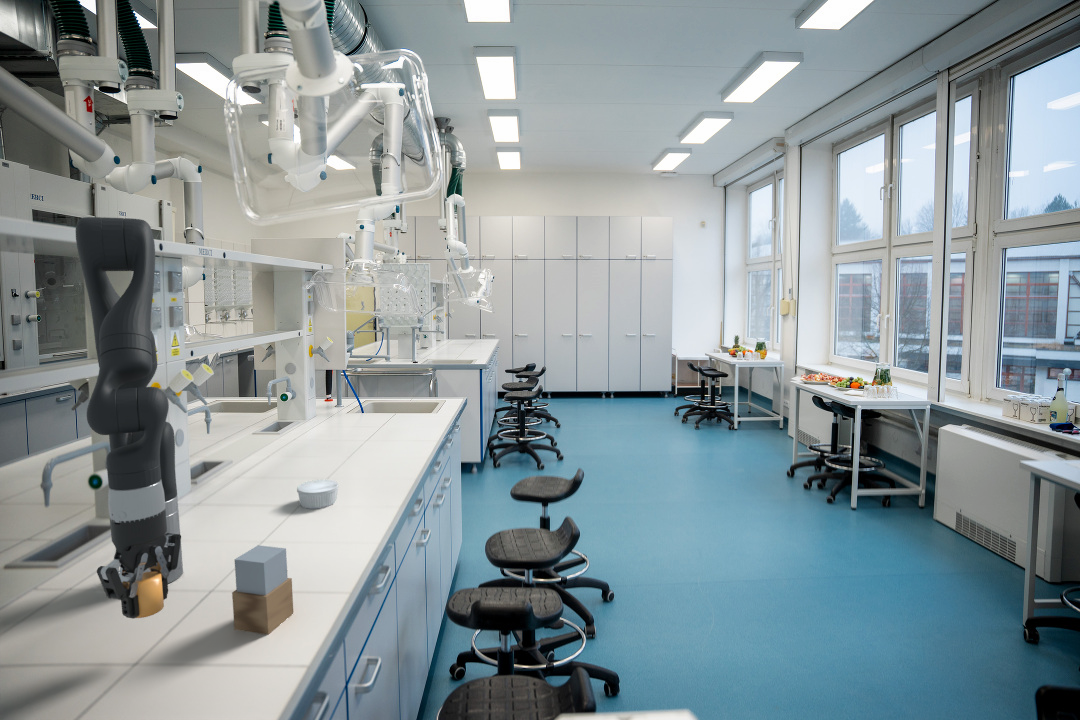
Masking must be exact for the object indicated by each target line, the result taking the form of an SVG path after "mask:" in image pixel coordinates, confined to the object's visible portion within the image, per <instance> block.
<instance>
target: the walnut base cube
mask: <svg viewBox="0 0 1080 720" xmlns="http://www.w3.org/2000/svg"><path fill="white" fill-rule="evenodd" d="M231 594H232V595H231V597H232V612H233V626H234V627H233V628H234V630H236V631H240V632H241V631H243V632H249V633H256V634H261V635H268V636H269V635H270V634H271V633H272V632H274V631H275V630H276V629H277V628H278V627H279V626H281V625H282V624H284V623H285V622H286V621H287V620H288V619H289V618H290V617H292V614H293V613H294V598H293V578H291V577H288V579H287V580H286V581H285V582H283V583H282V584H281V585H279V586H278V587H277V588H275V589H274V590H272V591H271V592H270V593H268V594H267V595H259V594H252V593H244V592H237V590H236V589H235V590H234V591H232V592H231ZM293 615H294V614H293ZM287 618H288V619H287ZM286 619H287V620H286ZM281 623H282V624H281ZM280 624H281V625H280Z"/></svg>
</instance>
